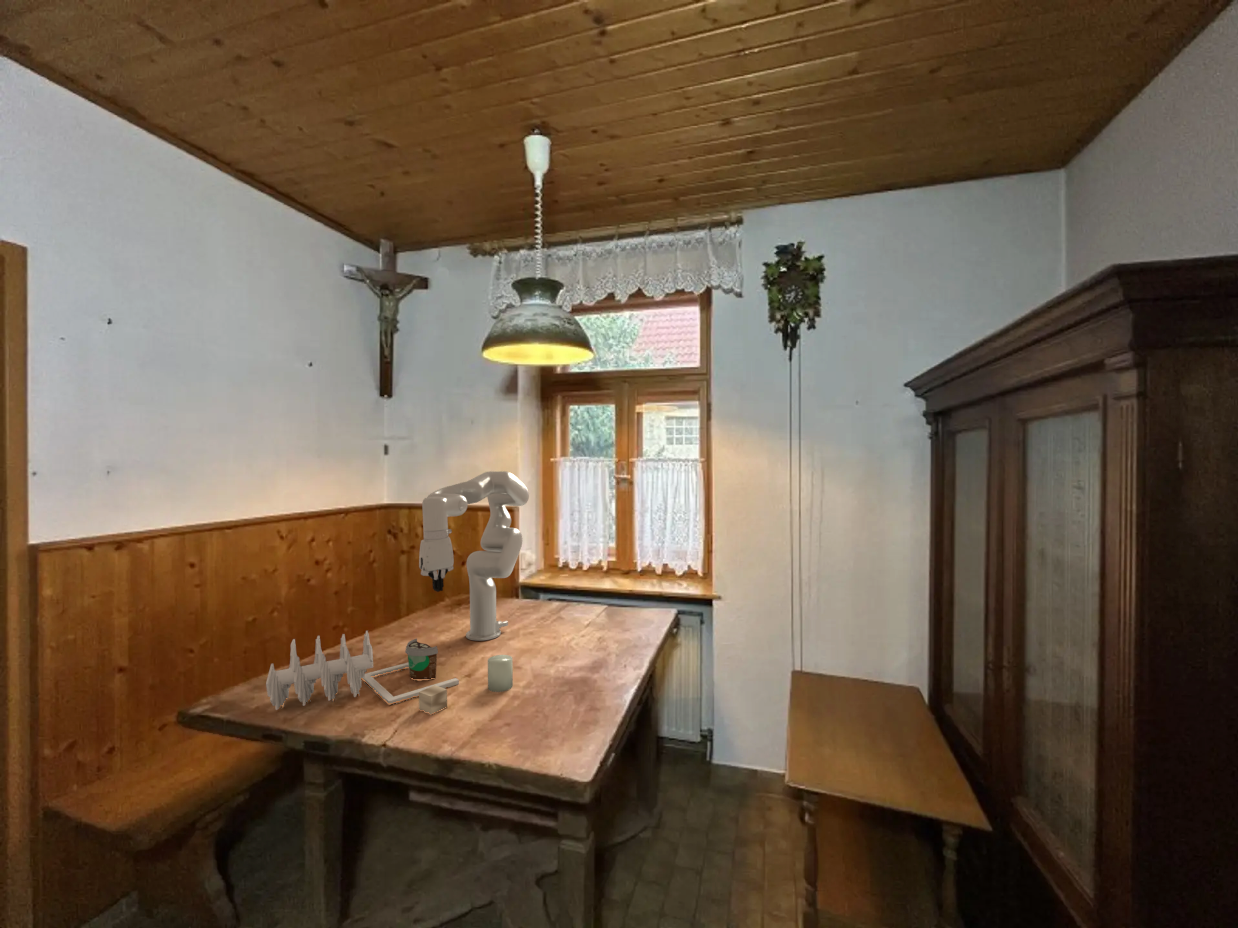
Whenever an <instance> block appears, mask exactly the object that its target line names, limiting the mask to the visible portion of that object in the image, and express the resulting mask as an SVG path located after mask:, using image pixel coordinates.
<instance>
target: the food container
mask: <svg viewBox="0 0 1238 928" xmlns="http://www.w3.org/2000/svg"><path fill="white" fill-rule="evenodd" d="M438 650H439V649H438V646H437V645H436V646H433V647H432V646H431V645H428V644H427V643H422V642H419V641H418V638H414V639H411V640H410V641H408V642H407V644H406V646H405V651H404V653H405V654H406V655H407V660H408V661H407V663H408V662H409V668H408V671H409V678H410V677H411V678H413V679H431V678H435V679H436V677H437V656H438V654H439V651H438Z"/></svg>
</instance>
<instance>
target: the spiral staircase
mask: <svg viewBox="0 0 1238 928" xmlns="http://www.w3.org/2000/svg"><path fill="white" fill-rule="evenodd" d="M363 635H364V638H363V642H362V645H363V647H362V649H363V651H362V654H359V655H355V656H354V655H353V656H351V653H350V651H349V648H348V647H347V642H346V635H345V633H342V635H341V638H340V647H339V648H340V649H339V658H338V659H333V660H328V661H327V660H326V659H327V658H326V656H325V653H323V651H322V647H321V638H320V637H321V636H320V635H317V637H316V639H315V648H314V651H315V652H314V659H313V660H314V661H313V663H311V664H307V665H301V661H300V657H299V656H298V655H297V646H296V638H293V639H292V641H291V643H290V654H289V656H290V657H289V658H290V659H289V667H288V668H285V669H280V670H276V669H275V666H274V663H270V667H269V671H268V675H267V678H266V680H265V681H266V683H265V688H266V692H267V694H266V695H267V697H270V698H269V701H270V704H271V705H272V707H274V708H275V710H276V711H277V710H279V709H280V708H281V707H280V705H283V703H284V701H285V702H286V700H285V699H286V698H288V699H289V695H290V694H289V693H290V692H289V691H290V688H291V687H292V684H293V686H294V692H295V695H297V699H298V701H299V702H300V703H302V706H306V705H307V703H308V700H309V699H310V697H312V694H314V693H313V692H314V691H315V690H314V689H315V687H314V686H315V684H316V683H317V679H320V681H321V687H323V690H324V691H323V692H324V695H325V697H326V698H327V700H328V701H331V700H332V699H334V698H335V699H336V695H335V694H336V693H337V692H338V693H339V683H340V682H341V680H342V677H344V674H346V679H347V685H349V689H350V692H351V694H353V698H356V697H357V694H359V695H360V692H359V690H360V691H361V689H360V688H361V687H362V680H361V678H362V676H363V677H364V676H365V674H366V673H368V672H367V670H368V669H373V668H374V657H373V655H374V654H373V647H372V644H371V643H370V642H371V641H370V633H369V630H365V633H364V634H363ZM332 701H333V700H332ZM306 702H307V703H306ZM279 707H280V708H279Z"/></svg>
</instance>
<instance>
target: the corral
mask: <svg viewBox="0 0 1238 928" xmlns="http://www.w3.org/2000/svg"><path fill="white" fill-rule="evenodd" d="M405 667H409V662H408V661H407V662H404V663H401V664H397V665H393V666H389V667H386V668H381V669H378V670H375V671H371V672H365V676H364V677H363V676H362V678H363V679H364V680H365V681H366V682H367V683H368V684H369V685H370V686H371V687H372V688H374V690H376V692H378V694H380V696H382V698H383V699H385V700H386V701H387V702H388V703H393V702H396V701H400V700H402V699H407V698H411V697H413V696H418V695H419V692H420V691H422V690H425V689H427V688H429V687H431V686H434V685H436V686H439V687H442V688H445V689H447V688H446V687H448V688H450V687H453V686H458V685H459V684H460V679H458V678H457V677H454V678H451V679H448V680H444V681H440V682H437V683H435V684H430V685H427V686H424V687H421V688H418V689H415V690H412V691H408V692H404V693H401V694H398V695H395V696H393V694H391V693H390V692H389V691H388V689H386V688H385V687H384V686H382V685H381V683H379V682H378V681H377V680H376V679H375V678H373V677H371V676H375V675H378V674H383V673H386V672H391V671H393V670H398V669H403V668H405Z"/></svg>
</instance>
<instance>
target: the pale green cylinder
mask: <svg viewBox="0 0 1238 928" xmlns="http://www.w3.org/2000/svg"><path fill="white" fill-rule="evenodd" d="M513 668H514V667H513V657H512V656H511V655H508V654H497V655H492V656H490V657H489V658H488V659H487V690H488V691H490V692H493V693H502V692H507V691H509V690H511V689H512V688H513V684H514V683H513Z"/></svg>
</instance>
